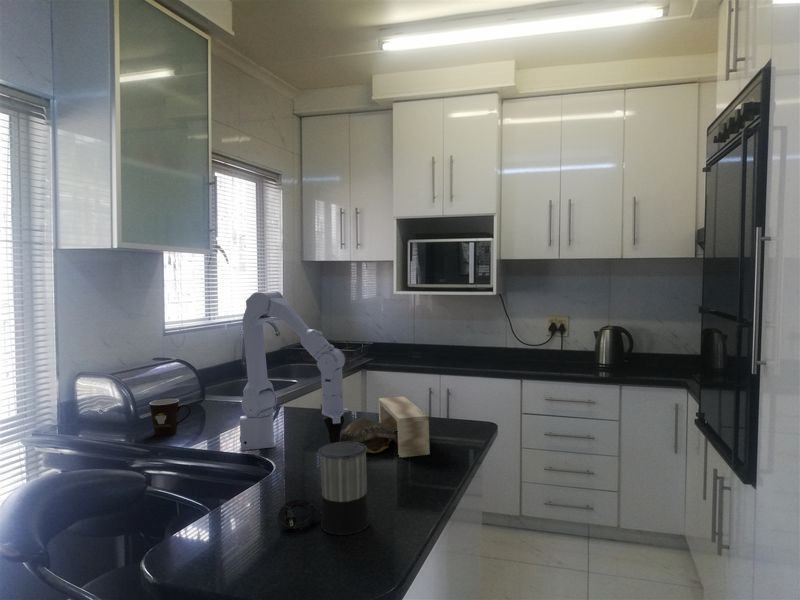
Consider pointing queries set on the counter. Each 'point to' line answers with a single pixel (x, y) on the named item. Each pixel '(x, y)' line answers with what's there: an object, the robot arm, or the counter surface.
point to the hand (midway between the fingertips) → (334, 443)
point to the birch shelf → (406, 425)
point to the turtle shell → (368, 434)
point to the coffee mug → (166, 416)
